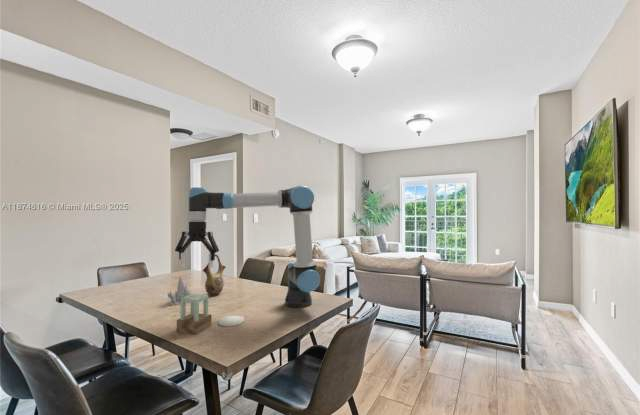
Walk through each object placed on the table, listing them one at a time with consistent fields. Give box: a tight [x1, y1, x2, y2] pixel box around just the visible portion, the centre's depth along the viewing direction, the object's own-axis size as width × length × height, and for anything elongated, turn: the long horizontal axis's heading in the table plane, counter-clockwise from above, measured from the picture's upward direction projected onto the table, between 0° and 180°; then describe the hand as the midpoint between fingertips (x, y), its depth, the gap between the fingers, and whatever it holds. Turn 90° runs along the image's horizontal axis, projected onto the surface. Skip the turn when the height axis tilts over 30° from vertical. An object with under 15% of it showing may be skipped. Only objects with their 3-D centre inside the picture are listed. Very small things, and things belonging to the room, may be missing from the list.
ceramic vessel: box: [202, 254, 227, 297], centre depth 189 cm, size 16×9×25 cm, turn 147°
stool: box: [179, 293, 209, 321], centre depth 134 cm, size 8×8×9 cm
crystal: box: [167, 275, 191, 306], centre depth 173 cm, size 10×13×15 cm
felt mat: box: [217, 315, 246, 327], centre depth 143 cm, size 12×12×1 cm
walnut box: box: [176, 313, 212, 335], centre depth 134 cm, size 10×10×5 cm
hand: (196, 267), depth 141 cm, fingers open, 13 cm apart
